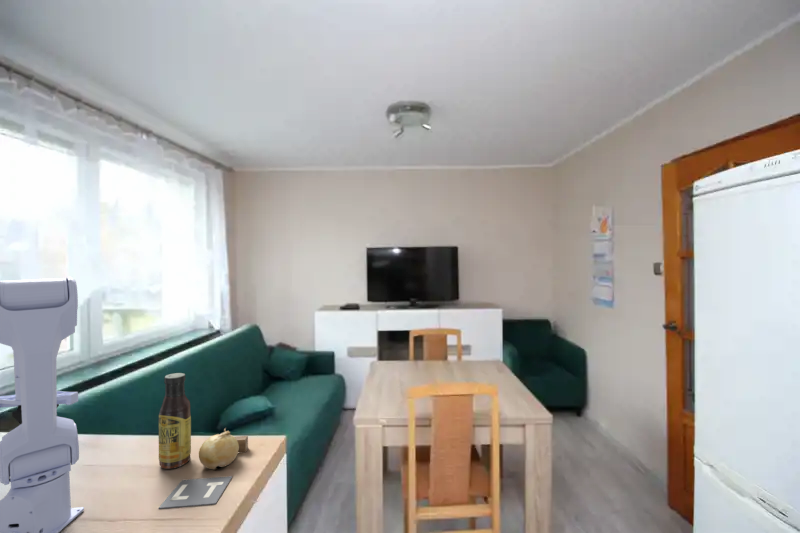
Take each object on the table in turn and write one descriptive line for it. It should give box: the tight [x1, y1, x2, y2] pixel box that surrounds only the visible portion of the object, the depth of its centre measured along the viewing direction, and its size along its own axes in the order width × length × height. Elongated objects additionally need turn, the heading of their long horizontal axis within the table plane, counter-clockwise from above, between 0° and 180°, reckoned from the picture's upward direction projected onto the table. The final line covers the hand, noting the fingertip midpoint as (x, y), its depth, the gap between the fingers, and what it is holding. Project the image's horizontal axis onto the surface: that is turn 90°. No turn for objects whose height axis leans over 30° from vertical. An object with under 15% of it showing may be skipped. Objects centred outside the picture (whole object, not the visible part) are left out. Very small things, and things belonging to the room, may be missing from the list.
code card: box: [158, 475, 233, 510], centre depth 75 cm, size 9×10×1 cm
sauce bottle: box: [158, 372, 192, 470], centre depth 86 cm, size 7×6×20 cm
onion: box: [198, 427, 239, 470], centre depth 86 cm, size 8×8×7 cm
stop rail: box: [234, 435, 249, 453], centre depth 91 cm, size 2×9×3 cm, turn 95°
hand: (37, 441), depth 77 cm, fingers closed
